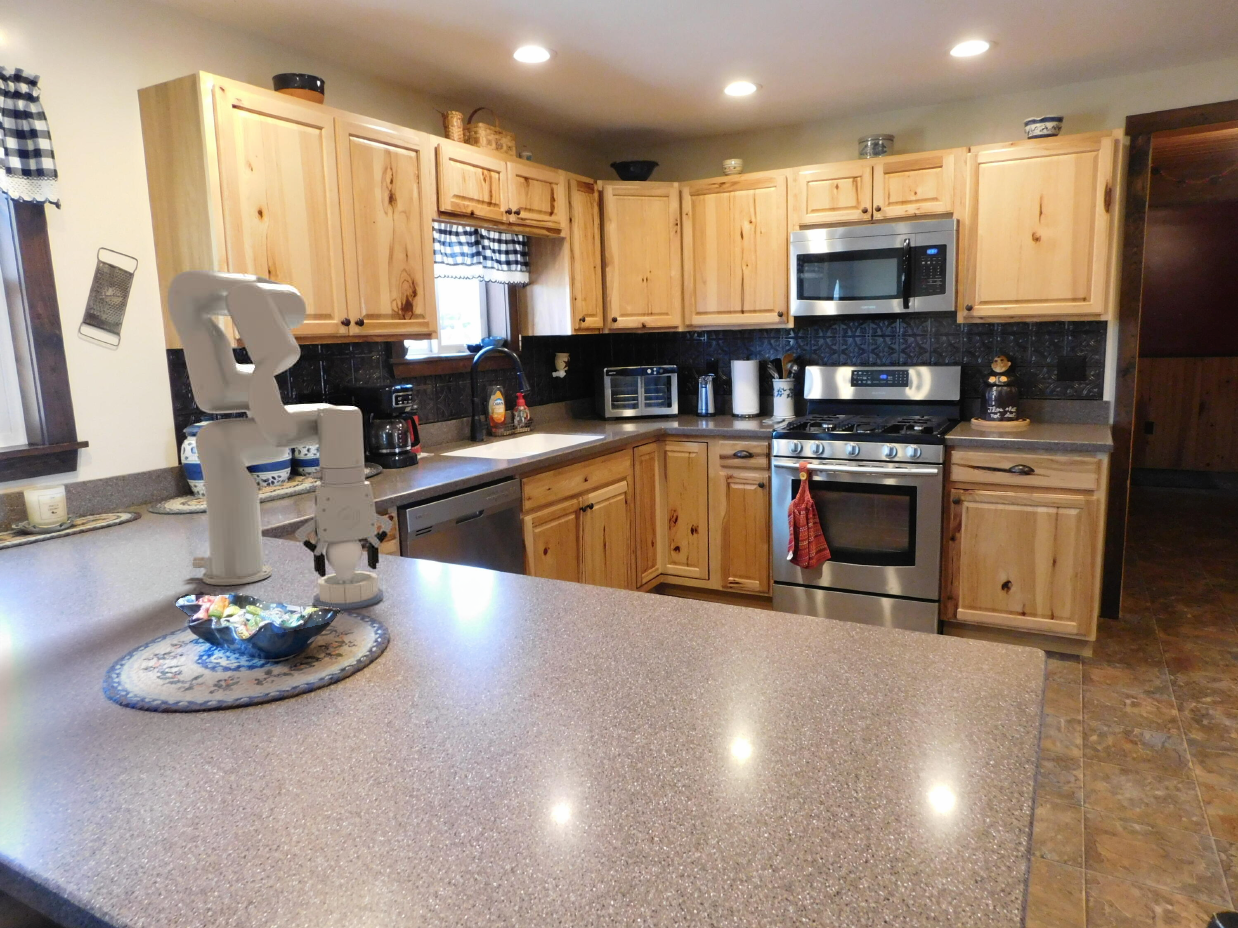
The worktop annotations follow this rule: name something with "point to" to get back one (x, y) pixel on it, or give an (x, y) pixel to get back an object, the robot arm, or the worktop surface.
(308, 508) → the worktop surface
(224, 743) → the worktop surface
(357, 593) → the holder
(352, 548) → the lightbulb
